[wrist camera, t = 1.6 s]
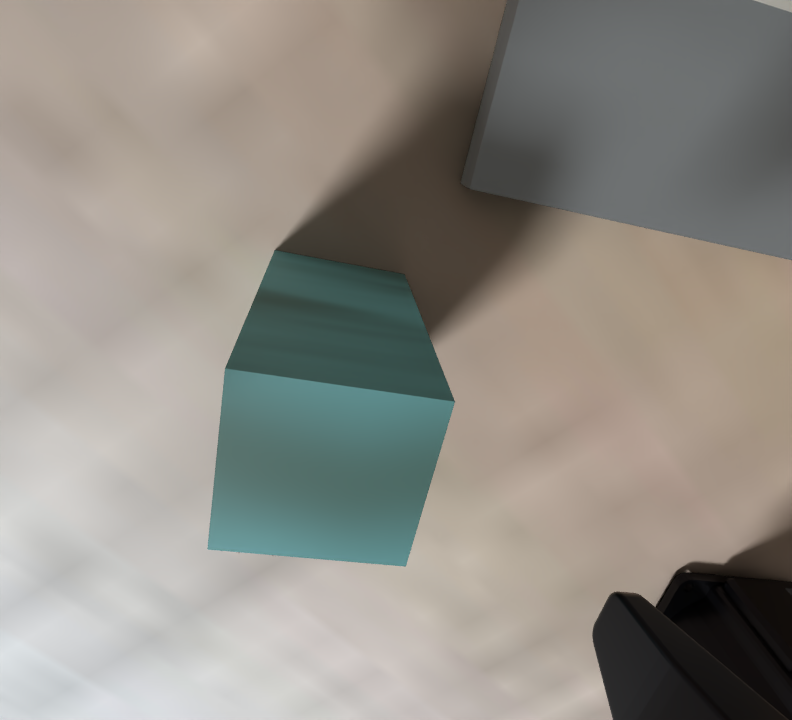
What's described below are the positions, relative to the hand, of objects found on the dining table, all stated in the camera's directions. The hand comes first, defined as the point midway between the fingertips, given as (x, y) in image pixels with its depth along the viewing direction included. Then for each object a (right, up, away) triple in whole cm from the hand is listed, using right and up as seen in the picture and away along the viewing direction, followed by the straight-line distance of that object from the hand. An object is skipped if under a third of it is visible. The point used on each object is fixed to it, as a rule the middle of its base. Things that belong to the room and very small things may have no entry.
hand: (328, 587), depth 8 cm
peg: (-1, +5, +9) cm, 11 cm away
